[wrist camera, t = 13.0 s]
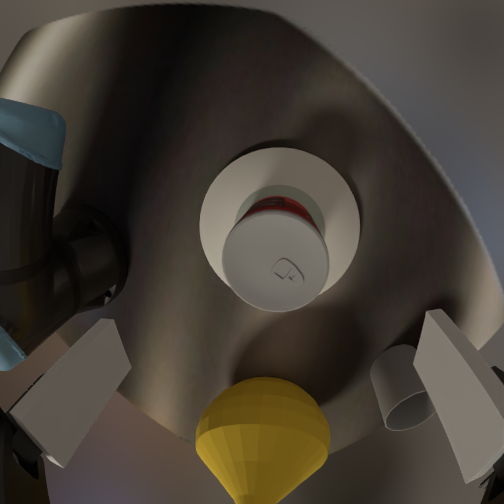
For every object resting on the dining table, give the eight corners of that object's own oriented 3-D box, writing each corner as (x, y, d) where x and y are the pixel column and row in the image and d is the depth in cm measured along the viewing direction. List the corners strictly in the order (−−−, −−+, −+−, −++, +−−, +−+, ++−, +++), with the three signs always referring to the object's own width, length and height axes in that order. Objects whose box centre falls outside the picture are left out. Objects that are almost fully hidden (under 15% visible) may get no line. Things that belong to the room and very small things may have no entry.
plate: (213, 301, 35) (210, 306, 34) (194, 157, 30) (190, 156, 28) (354, 295, 33) (357, 300, 31) (354, 145, 27) (357, 145, 26)
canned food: (299, 273, 31) (305, 326, 21) (233, 249, 31) (207, 291, 21) (326, 211, 29) (349, 236, 18) (256, 184, 29) (239, 194, 18)
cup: (395, 336, 34) (419, 383, 24) (427, 354, 34) (452, 396, 25) (359, 376, 36) (372, 425, 27) (393, 390, 37) (408, 434, 27)
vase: (189, 391, 41) (126, 545, 13) (267, 333, 36) (229, 568, 7) (267, 439, 43) (249, 576, 15) (347, 396, 38) (369, 566, 10)
